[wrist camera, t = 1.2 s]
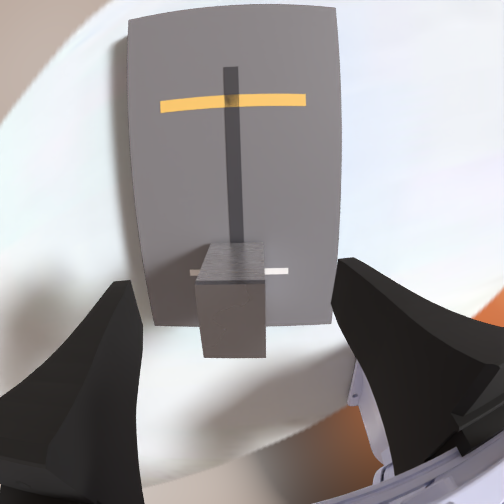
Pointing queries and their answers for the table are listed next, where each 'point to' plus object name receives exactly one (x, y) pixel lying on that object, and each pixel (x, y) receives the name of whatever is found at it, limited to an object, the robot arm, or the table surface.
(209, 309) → the fader knob
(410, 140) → the table surface
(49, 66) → the table surface
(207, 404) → the table surface
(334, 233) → the fader console
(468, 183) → the table surface
